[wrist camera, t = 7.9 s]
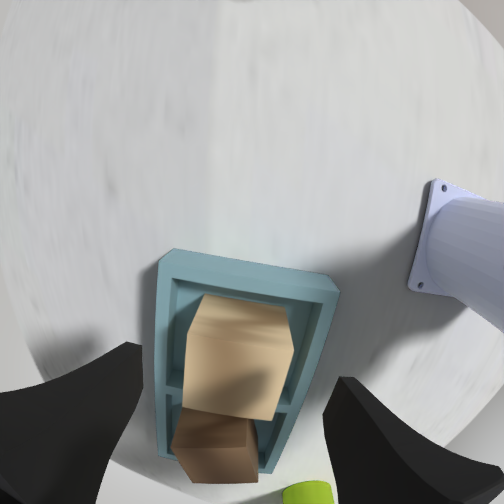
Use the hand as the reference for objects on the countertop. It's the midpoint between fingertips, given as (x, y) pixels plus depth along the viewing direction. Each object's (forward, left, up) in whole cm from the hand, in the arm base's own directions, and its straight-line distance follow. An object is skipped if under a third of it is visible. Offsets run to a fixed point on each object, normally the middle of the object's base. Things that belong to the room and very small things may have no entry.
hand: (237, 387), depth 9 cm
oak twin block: (0, +3, -8) cm, 9 cm away
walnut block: (0, +11, -8) cm, 14 cm away
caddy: (0, +7, -9) cm, 12 cm away
